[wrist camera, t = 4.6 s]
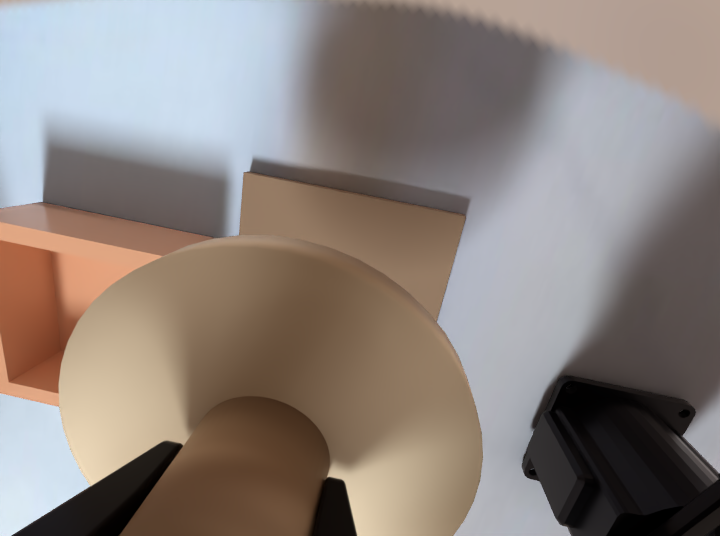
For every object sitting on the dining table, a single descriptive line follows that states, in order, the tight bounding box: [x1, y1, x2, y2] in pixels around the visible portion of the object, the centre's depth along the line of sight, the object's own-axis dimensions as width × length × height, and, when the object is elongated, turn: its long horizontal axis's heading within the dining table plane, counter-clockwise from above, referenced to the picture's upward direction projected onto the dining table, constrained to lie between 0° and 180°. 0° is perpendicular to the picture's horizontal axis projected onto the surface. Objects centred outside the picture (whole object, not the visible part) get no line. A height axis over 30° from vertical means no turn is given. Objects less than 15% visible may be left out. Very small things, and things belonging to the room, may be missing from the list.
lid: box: [58, 235, 483, 536], centre depth 7 cm, size 10×10×4 cm
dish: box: [0, 202, 214, 407], centre depth 18 cm, size 9×9×4 cm
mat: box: [239, 172, 466, 322], centre depth 18 cm, size 10×10×1 cm
